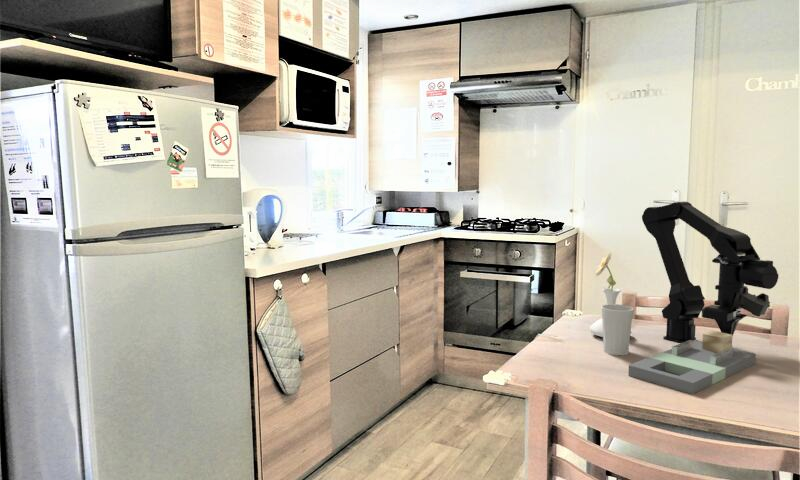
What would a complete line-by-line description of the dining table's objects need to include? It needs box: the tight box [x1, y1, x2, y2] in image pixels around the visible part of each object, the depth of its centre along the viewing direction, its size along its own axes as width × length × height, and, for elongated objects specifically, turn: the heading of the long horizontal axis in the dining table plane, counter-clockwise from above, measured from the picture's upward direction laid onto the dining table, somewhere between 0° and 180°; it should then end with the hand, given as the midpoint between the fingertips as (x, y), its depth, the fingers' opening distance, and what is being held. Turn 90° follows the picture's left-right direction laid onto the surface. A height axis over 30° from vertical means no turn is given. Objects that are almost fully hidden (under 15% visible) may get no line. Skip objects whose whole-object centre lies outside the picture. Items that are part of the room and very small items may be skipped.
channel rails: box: [671, 340, 734, 365], centre depth 144 cm, size 10×9×2 cm
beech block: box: [701, 330, 734, 353], centre depth 149 cm, size 5×5×4 cm
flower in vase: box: [589, 251, 632, 338], centre depth 168 cm, size 13×11×25 cm
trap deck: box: [628, 339, 757, 395], centre depth 142 cm, size 15×32×2 cm, turn 128°
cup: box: [600, 303, 635, 356], centre depth 155 cm, size 8×8×12 cm
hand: (727, 341), depth 152 cm, fingers closed
